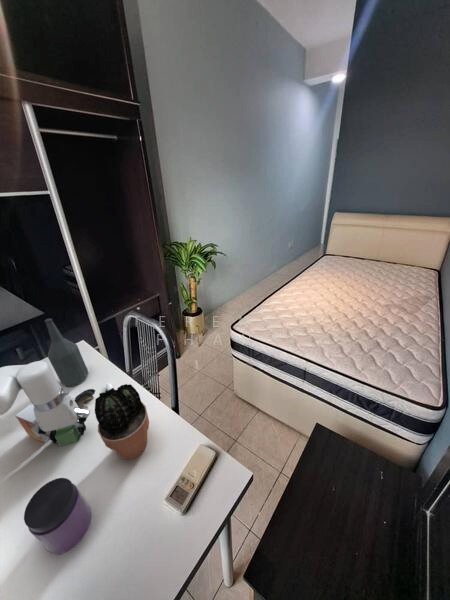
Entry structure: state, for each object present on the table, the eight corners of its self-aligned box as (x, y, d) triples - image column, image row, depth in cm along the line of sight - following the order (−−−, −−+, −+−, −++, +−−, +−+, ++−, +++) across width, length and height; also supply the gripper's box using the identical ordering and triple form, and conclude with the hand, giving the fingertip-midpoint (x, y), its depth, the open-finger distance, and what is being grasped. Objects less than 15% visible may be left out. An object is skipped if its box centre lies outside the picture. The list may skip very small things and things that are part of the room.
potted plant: (156, 459, 74) (137, 402, 62) (107, 475, 71) (78, 418, 59) (154, 420, 85) (138, 366, 74) (112, 432, 82) (89, 378, 70)
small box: (28, 436, 83) (14, 415, 78) (44, 421, 87) (31, 401, 82) (45, 443, 80) (31, 423, 75) (60, 428, 85) (48, 407, 80)
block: (60, 446, 79) (54, 437, 77) (64, 432, 83) (58, 423, 81) (77, 441, 80) (72, 432, 78) (80, 428, 84) (75, 418, 82)
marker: (105, 386, 100) (103, 382, 99) (110, 383, 101) (109, 379, 100) (120, 415, 88) (119, 410, 87) (126, 411, 89) (125, 407, 88)
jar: (39, 562, 55) (15, 540, 50) (52, 510, 64) (33, 486, 58) (88, 543, 58) (70, 520, 52) (94, 495, 66) (79, 471, 61)
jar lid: (21, 541, 51) (15, 536, 50) (36, 491, 59) (32, 486, 58) (71, 522, 53) (67, 517, 52) (80, 477, 61) (77, 471, 60)
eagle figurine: (86, 416, 87) (101, 393, 94) (68, 406, 84) (85, 382, 91) (76, 418, 91) (91, 396, 98) (59, 409, 88) (76, 386, 95)
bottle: (85, 366, 111) (60, 309, 97) (92, 377, 105) (66, 318, 91) (59, 378, 105) (29, 320, 91) (65, 391, 99) (33, 330, 85)
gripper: (83, 381, 78) (99, 417, 87) (20, 397, 74) (44, 433, 82) (78, 400, 72) (96, 437, 80) (9, 418, 68) (36, 455, 76)
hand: (70, 435), depth 81 cm, fingers open, 7 cm apart
